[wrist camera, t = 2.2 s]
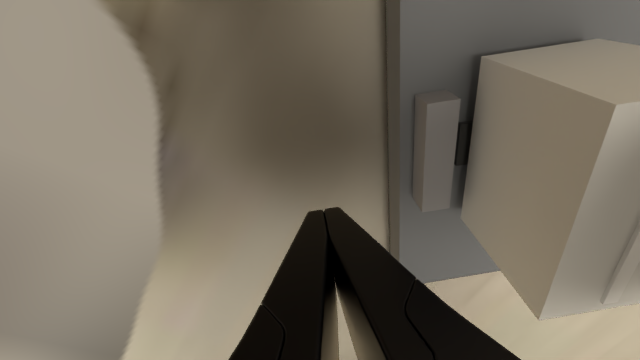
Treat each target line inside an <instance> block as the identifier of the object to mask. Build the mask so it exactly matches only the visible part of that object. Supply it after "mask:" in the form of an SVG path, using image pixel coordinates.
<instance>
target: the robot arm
mask: <svg viewBox="0 0 640 360" xmlns="http://www.w3.org/2000/svg"><path fill="white" fill-rule="evenodd" d="M334 277H335V278H334ZM335 283H336V285H335ZM336 288H337V292H338V296H339V300H340V303H341V306H342V309H343V313H344V316H345V319H346V323H347V326H348V329H349V332H350V336H351V339H352V342H353V346H354V349H355V352H356V355H357V359H358V360H521V359H520V358H518V357H517V356H515V355H514V354H513V353H511V352H510V351H509V350H507V349H506V348H505V347H503V346H502V345H500V344H499V343H498V342H496V341H495V340H494V339H492V338H491V337H490V336H488V335H487V334H485V333H484V332H483V331H481V330H480V329H479V328H477V327H476V326H475V325H473V324H472V323H470V322H469V321H468V320H467V319H465V318H464V317H463V316H461V315H460V314H459V313H457V312H456V311H455V310H454V309H452V308H451V307H450V306H448V305H447V304H446V303H445V302H444V301H442V300H441V299H440V298H439V297H438V296H437V295H435V294H434V293H433V292H432V291H431V290H430V289H428V288H427V287H426V286H425V285H424V284H423V283H422V282H421V281H420V280H419V279H416V277H415V276H414V275H413V274H412V273H411V272H410V271H409V270H408V269H406V268H405V267H404V266H403V265H402V264H401V263H400V262H399V261H398V260H397V259H395V258H394V257H393V256H392V255H391V254H390V253H389V252H388V251H387V250H386V249H385V248H383V247H382V246H381V245H380V244H379V243H378V242H377V241H376V240H375V239H374V238H372V237H371V236H370V235H369V234H368V233H367V232H366V231H365V230H364V229H363V228H361V227H360V226H359V225H358V224H357V223H356V222H355V221H354V220H353V219H352V218H351V217H349V216H348V215H347V214H346V213H345V212H344V211H343V210H342V209H341V208H339V207H334V208H328V209H325V210H324V211H323V210H315V211H310V212H308V213H307V215H306V217H305V219H304V221H303V223H302V225H301V227H300V229H299V231H298V232H297V234H296V236H295V238H294V240H293V242H292V244H291V246H290V248H289V250H288V252H287V254H286V256H285V258H284V260H283V262H282V263H281V265H280V267H279V269H278V271H277V273H276V275H275V277H274V279H273V281H272V283H271V285H270V287H269V289H268V291H267V293H266V294H265V296H264V298H263V300H262V302H261V305H260V306H259V308H258V310H257V312H256V314H255V316H254V317H253V319H252V321H251V323H250V325H249V327H248V328H247V330H246V332H245V334H244V336H243V337H242V339H241V341H240V342H239V344H238V345H237V347H236V349H235V350H234V352H233V353H232V355H231V356H230V358H229V360H339V344H338V317H337V295H336Z"/></svg>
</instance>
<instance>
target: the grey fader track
mask: <svg viewBox="0 0 640 360" xmlns="http://www.w3.org/2000/svg"><path fill="white" fill-rule="evenodd" d="M592 39H604V40H610V41H616V42H621V43H627V44H633V45H639V46H640V0H386V45H387V104H388V162H389V221H390V254H391V255H392V256H393V257H394V258H395V259H397V260H398V261H399V262H400V263H401V264H402V265H403V266H404V267H405V268H406V269H408V270H409V271H410V272H411V273H412V274H413V275H414V276H415V277H416V279H419V280H420V281H421V282H422V283H428V282H434V281H440V280H446V279H452V278H458V277H465V276H471V275H477V274H483V273H489V272H495V271H501V270H500V269H499V268H498V266H497V265H496V264H495V262H494V261H493V260H492V259H491V257H490V256H489V255H488V253H487V252H486V251H485V249H484V248H483V247H482V245H481V244H480V243H479V242H478V240H477V239H476V238H475V236H474V235H473V234H472V232H471V231H470V230H469V228H468V227H467V226H466V224H465V223H464V222H463V221H462V219H461V212H462V205H463V197H464V189H465V181H466V173H467V165H468V157H469V150H470V142H471V134H472V126H473V118H474V110H475V103H476V95H477V87H478V79H479V71H480V63H481V56H487V55H494V54H500V53H507V52H514V51H520V50H527V49H533V48H540V47H546V46H553V45H559V44H566V43H573V42H579V41H586V40H592Z"/></svg>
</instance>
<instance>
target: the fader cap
mask: <svg viewBox="0 0 640 360" xmlns="http://www.w3.org/2000/svg"><path fill="white" fill-rule="evenodd" d="M461 219H462V221H463V222H464V223H465V224H466V226H467V227H468V228H469V230H470V231H471V232H472V234H473V235H474V236H475V238H476V239H477V240H478V242H479V243H480V244H481V245H482V247H483V248H484V249H485V251H486V252H487V253H488V255H489V256H490V257H491V259H492V260H493V261H494V262H495V264H496V265H497V266H498V268H499V269H500V270H501V272H502V273H503V274H504V276H505V277H506V278H507V280H508V281H509V282H510V283H511V285H512V286H513V287H514V289H515V290H516V291H517V293H518V294H519V295H520V297H521V298H522V299H523V301H524V302H525V303H526V304H527V306H528V307H529V308H530V310H531V311H532V312H533V314H534V315H535V316H536V318H537V319H538V320H545V319H551V318H557V317H563V316H569V315H575V314H581V313H586V312H592V311H598V310H604V309H610V308H616V307H622V306H628V305H634V304H640V46H639V45H633V44H627V43H621V42H616V41H610V40H604V39H592V40H586V41H579V42H573V43H566V44H559V45H553V46H546V47H540V48H533V49H527V50H520V51H514V52H507V53H500V54H494V55H487V56H481V63H480V71H479V79H478V87H477V95H476V103H475V110H474V118H473V126H472V134H471V142H470V150H469V157H468V165H467V173H466V181H465V189H464V197H463V205H462V212H461Z"/></svg>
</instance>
